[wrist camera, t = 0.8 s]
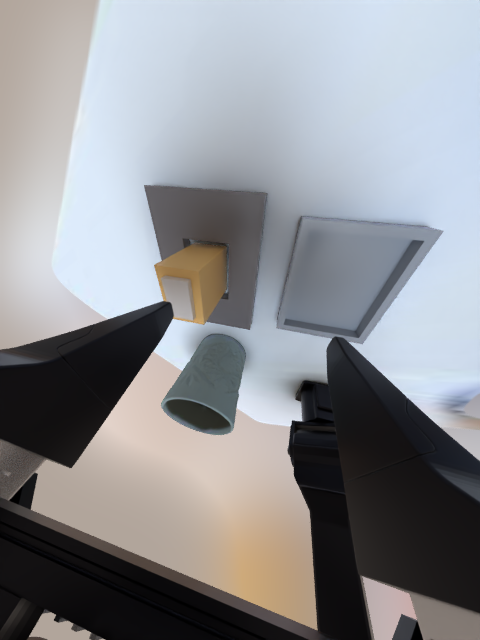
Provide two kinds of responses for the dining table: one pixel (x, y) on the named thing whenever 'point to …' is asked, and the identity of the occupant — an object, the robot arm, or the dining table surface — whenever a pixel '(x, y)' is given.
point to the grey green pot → (208, 387)
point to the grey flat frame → (215, 238)
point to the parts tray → (348, 274)
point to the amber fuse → (194, 280)
